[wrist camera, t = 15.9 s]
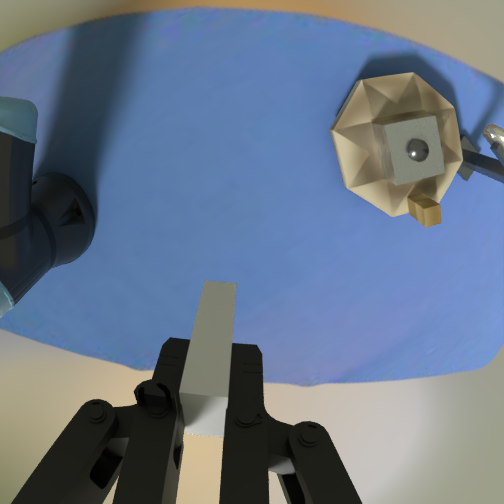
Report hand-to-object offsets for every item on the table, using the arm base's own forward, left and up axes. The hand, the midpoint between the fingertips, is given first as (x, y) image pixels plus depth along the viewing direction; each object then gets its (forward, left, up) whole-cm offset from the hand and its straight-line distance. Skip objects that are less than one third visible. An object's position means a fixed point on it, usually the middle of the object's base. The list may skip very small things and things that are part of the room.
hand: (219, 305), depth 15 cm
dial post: (+22, +22, -27) cm, 41 cm away
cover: (+13, +16, -24) cm, 31 cm away
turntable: (+14, +16, -26) cm, 33 cm away
